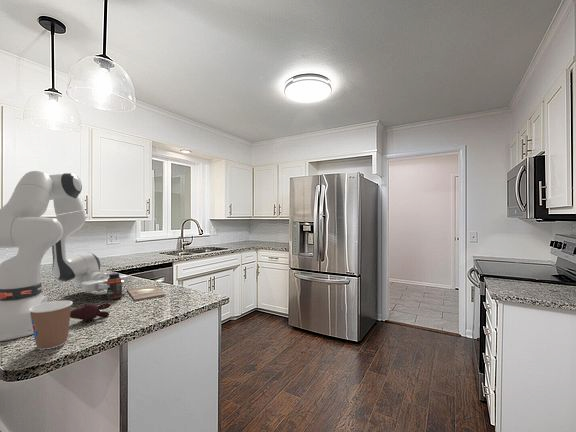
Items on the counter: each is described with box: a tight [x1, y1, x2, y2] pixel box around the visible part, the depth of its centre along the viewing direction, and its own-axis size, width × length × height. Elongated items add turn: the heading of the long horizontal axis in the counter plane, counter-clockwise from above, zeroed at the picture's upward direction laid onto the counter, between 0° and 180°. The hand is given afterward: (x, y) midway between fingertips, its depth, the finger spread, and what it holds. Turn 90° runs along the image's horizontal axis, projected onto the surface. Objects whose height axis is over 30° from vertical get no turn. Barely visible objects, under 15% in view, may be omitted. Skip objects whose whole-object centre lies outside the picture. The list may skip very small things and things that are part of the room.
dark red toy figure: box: [70, 302, 112, 323], centre depth 105 cm, size 7×7×15 cm
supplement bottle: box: [106, 272, 123, 300], centre depth 133 cm, size 6×6×11 cm
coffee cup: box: [29, 299, 74, 351], centre depth 86 cm, size 10×10×12 cm
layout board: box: [126, 284, 166, 302], centre depth 141 cm, size 22×13×1 cm, turn 38°
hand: (115, 284), depth 133 cm, fingers closed on supplement bottle, 6 cm apart
